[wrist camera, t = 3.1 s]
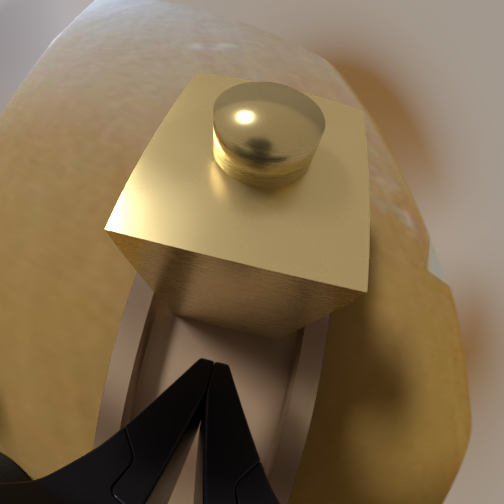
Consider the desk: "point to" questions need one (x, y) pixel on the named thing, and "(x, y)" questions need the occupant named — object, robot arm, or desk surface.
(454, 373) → the desk surface
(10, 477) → the pen holder
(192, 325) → the balance beam
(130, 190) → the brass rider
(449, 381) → the desk surface
